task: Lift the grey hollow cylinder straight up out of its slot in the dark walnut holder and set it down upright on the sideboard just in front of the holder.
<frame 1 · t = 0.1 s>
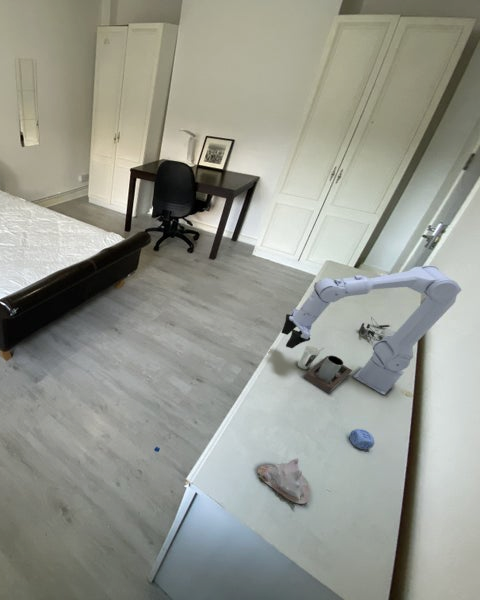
hand: (286, 340, 116), 11 cm above the dresser, tool pointing down, fingers open, 7 cm apart
milkshake: (303, 366, 120), on the dresser
seashell: (282, 485, 84), on the dresser
clip-on lamp: (374, 335, 137), on the dresser
holder: (326, 376, 116), on the dresser
grey hollow cylinder: (321, 381, 114), resting in holder
decorative dice: (357, 443, 95), on the dresser
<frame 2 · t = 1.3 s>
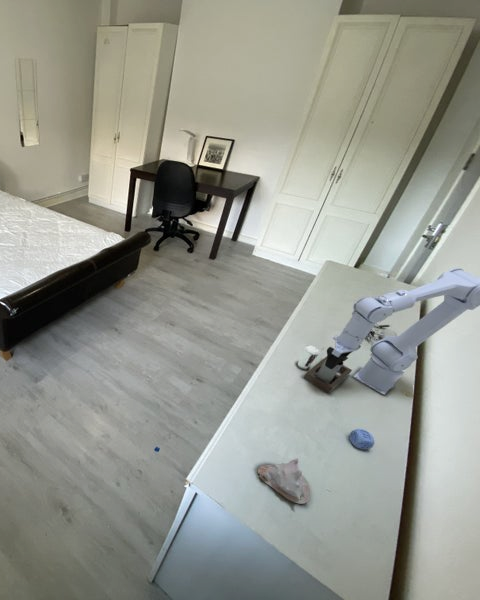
hand: (333, 362, 109), 9 cm above the dresser, tool pointing down, fingers open, 7 cm apart
nothing on the dresser moved.
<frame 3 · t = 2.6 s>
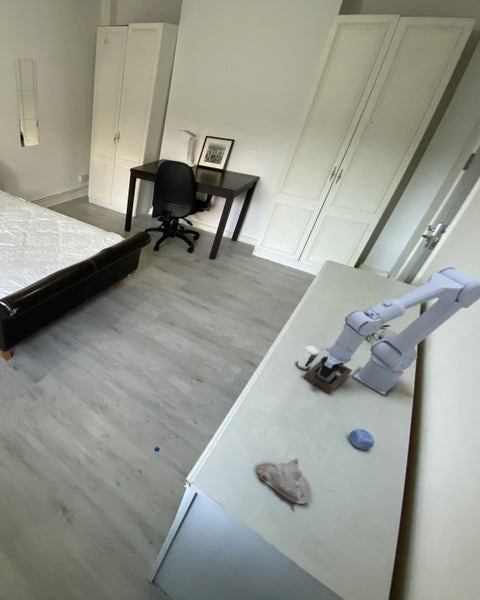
hand: (326, 373, 112), 4 cm above the dresser, tool pointing down, fingers closed on grey hollow cylinder, 4 cm apart
grey hollow cylinder: (321, 381, 114), resting in holder, touching gripper
everything else where it was.
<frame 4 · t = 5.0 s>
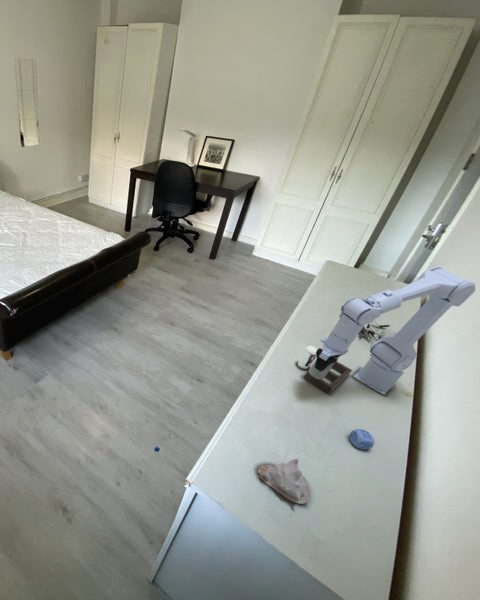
hand: (321, 366, 106), 10 cm above the dresser, tool pointing down, fingers closed on grey hollow cylinder, 4 cm apart
grey hollow cylinder: (316, 374, 108), point 6 cm above the dresser, touching gripper
everything else where it was.
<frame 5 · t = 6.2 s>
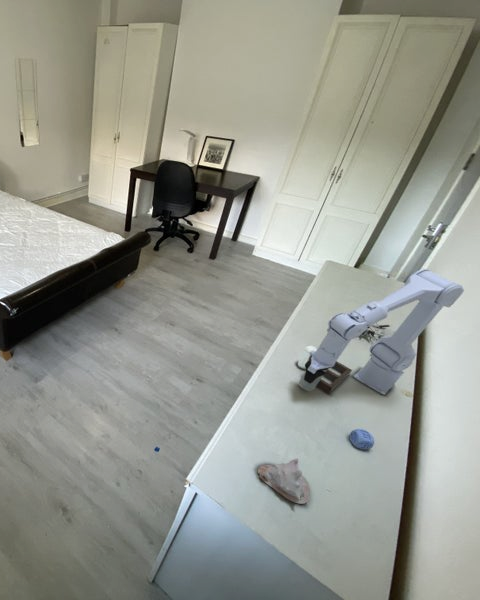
hand: (311, 378, 108), 6 cm above the dresser, tool pointing down, fingers closed on grey hollow cylinder, 4 cm apart
grey hollow cylinder: (305, 386, 110), point 1 cm above the dresser, touching gripper
everything else where it was.
when the fingers open (4 cm above the dresser, at t = 7.2 s): grey hollow cylinder stays where it is, on the dresser.
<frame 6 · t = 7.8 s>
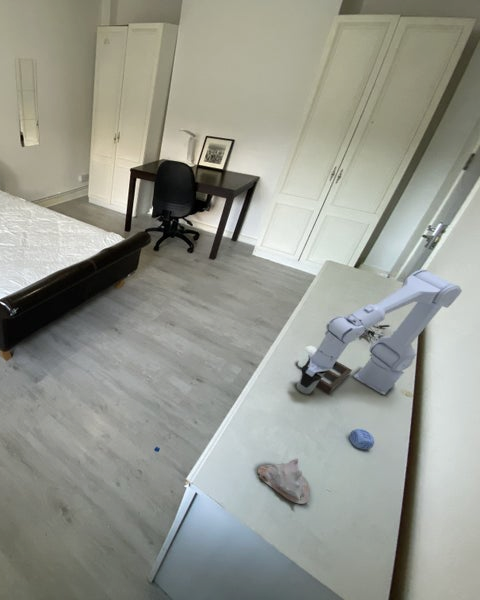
hand: (309, 380, 108), 4 cm above the dresser, tool pointing down, fingers open, 7 cm apart
grey hollow cylinder: (303, 389, 111), on the dresser
everything else where it was.
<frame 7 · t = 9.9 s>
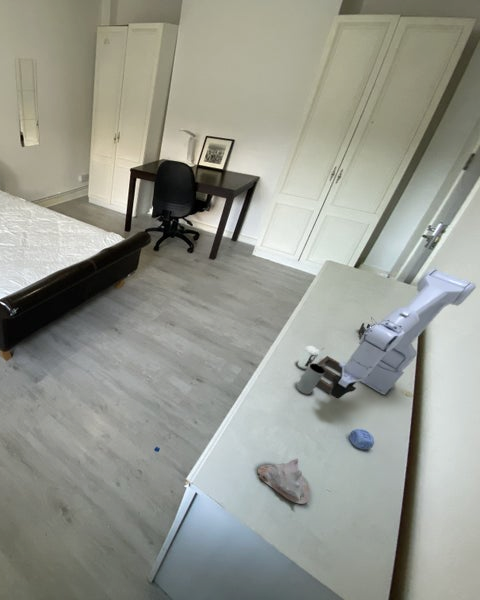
hand: (340, 391, 101), 7 cm above the dresser, tool pointing down, fingers open, 7 cm apart
nothing on the dresser moved.
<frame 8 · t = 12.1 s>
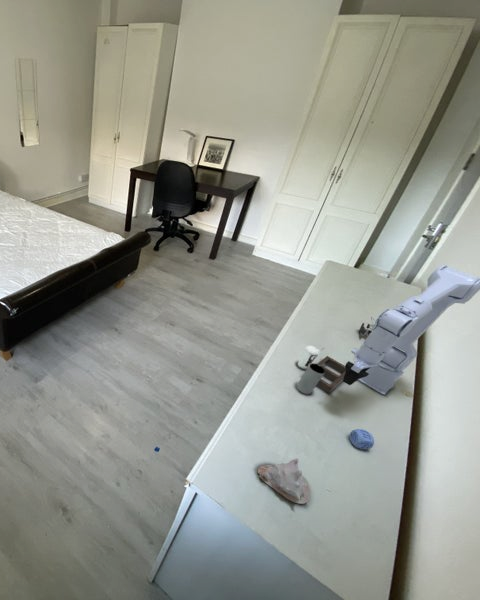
hand: (351, 377, 102), 10 cm above the dresser, tool pointing down, fingers open, 7 cm apart
nothing on the dresser moved.
at the end: grey hollow cylinder inside the target area (0.1 cm from its centre), on the dresser; grey hollow cylinder tilted 0°; the gripper is holding nothing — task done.
